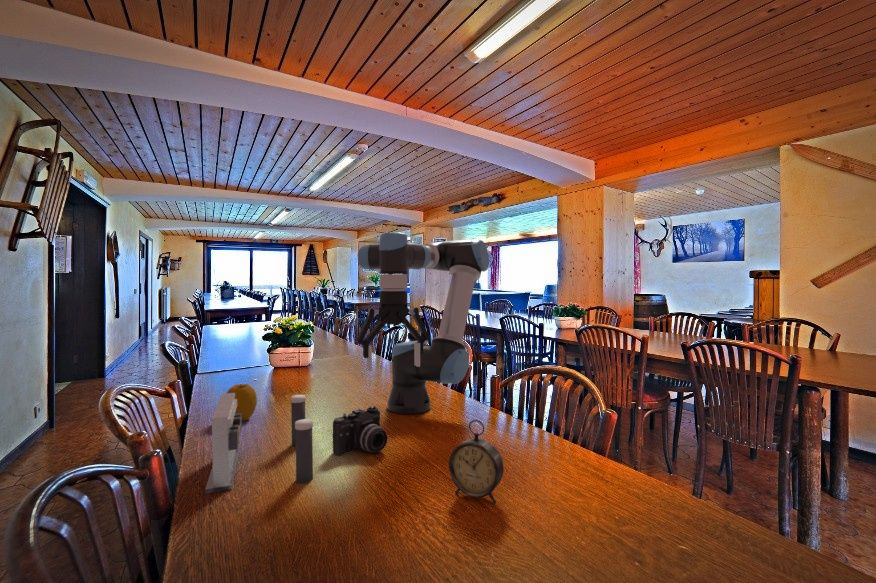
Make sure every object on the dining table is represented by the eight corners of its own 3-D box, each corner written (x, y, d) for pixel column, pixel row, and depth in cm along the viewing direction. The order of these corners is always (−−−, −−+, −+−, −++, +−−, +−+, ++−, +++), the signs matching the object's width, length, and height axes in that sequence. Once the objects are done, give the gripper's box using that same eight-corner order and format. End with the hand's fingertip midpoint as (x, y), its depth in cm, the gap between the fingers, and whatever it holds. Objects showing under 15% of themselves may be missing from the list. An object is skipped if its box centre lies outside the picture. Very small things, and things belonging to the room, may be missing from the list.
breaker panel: (242, 452, 110) (241, 392, 109) (237, 488, 91) (235, 415, 90) (216, 456, 107) (215, 394, 107) (205, 494, 89) (203, 419, 88)
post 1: (305, 440, 118) (304, 394, 117) (306, 445, 114) (305, 397, 114) (291, 442, 116) (290, 395, 116) (291, 447, 113) (291, 399, 112)
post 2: (312, 474, 98) (311, 418, 97) (314, 481, 94) (313, 423, 94) (295, 477, 96) (294, 420, 96) (296, 484, 93) (295, 425, 92)
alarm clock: (447, 495, 88) (447, 419, 88) (458, 484, 93) (458, 412, 92) (497, 509, 83) (497, 428, 82) (506, 496, 88) (506, 420, 87)
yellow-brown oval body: (216, 422, 132) (216, 385, 132) (241, 413, 141) (241, 378, 141) (240, 426, 129) (239, 388, 128) (264, 417, 138) (263, 381, 137)
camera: (354, 465, 103) (354, 425, 102) (329, 452, 110) (328, 415, 110) (397, 447, 113) (397, 411, 113) (371, 437, 121) (371, 403, 120)
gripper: (431, 289, 122) (431, 361, 123) (344, 290, 113) (345, 368, 114) (441, 290, 115) (441, 366, 116) (349, 291, 106) (350, 374, 107)
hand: (393, 367), depth 115 cm, fingers open, 13 cm apart
